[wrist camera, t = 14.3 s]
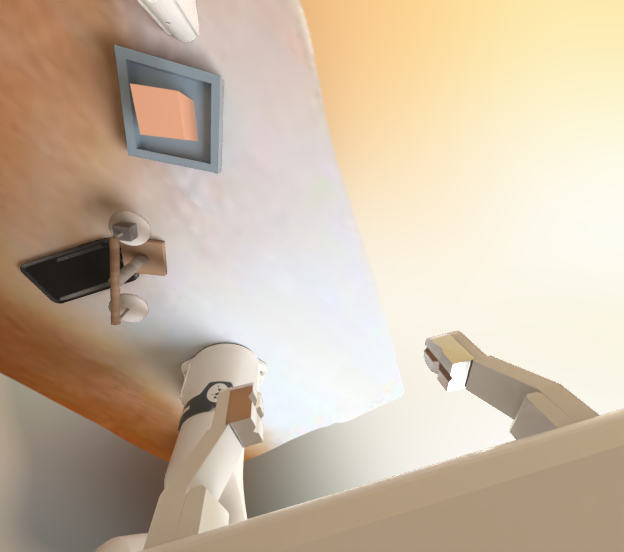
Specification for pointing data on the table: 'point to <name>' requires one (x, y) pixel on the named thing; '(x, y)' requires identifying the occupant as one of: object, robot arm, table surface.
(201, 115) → the dish
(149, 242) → the tipped balance
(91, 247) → the phone
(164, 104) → the terracotta block
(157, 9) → the photo printer
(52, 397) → the table surface
